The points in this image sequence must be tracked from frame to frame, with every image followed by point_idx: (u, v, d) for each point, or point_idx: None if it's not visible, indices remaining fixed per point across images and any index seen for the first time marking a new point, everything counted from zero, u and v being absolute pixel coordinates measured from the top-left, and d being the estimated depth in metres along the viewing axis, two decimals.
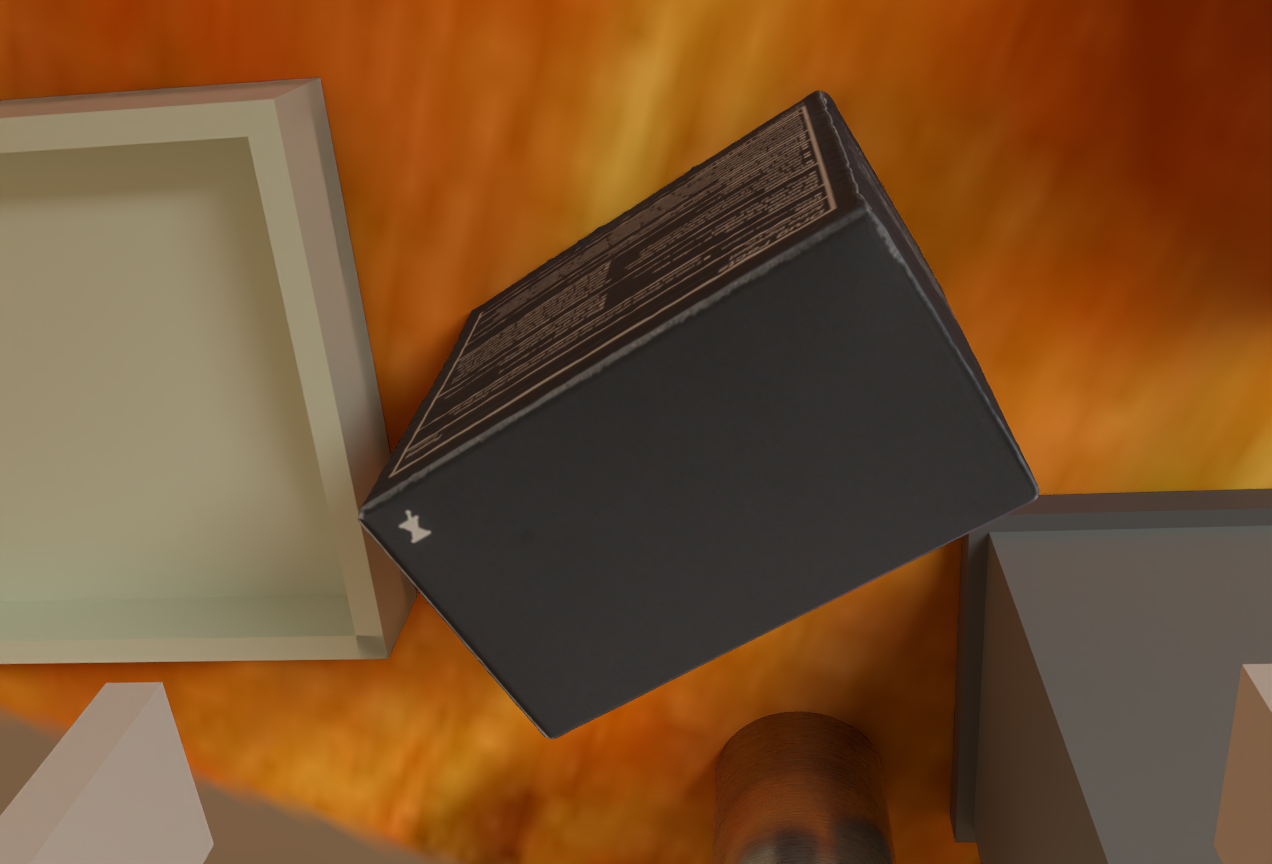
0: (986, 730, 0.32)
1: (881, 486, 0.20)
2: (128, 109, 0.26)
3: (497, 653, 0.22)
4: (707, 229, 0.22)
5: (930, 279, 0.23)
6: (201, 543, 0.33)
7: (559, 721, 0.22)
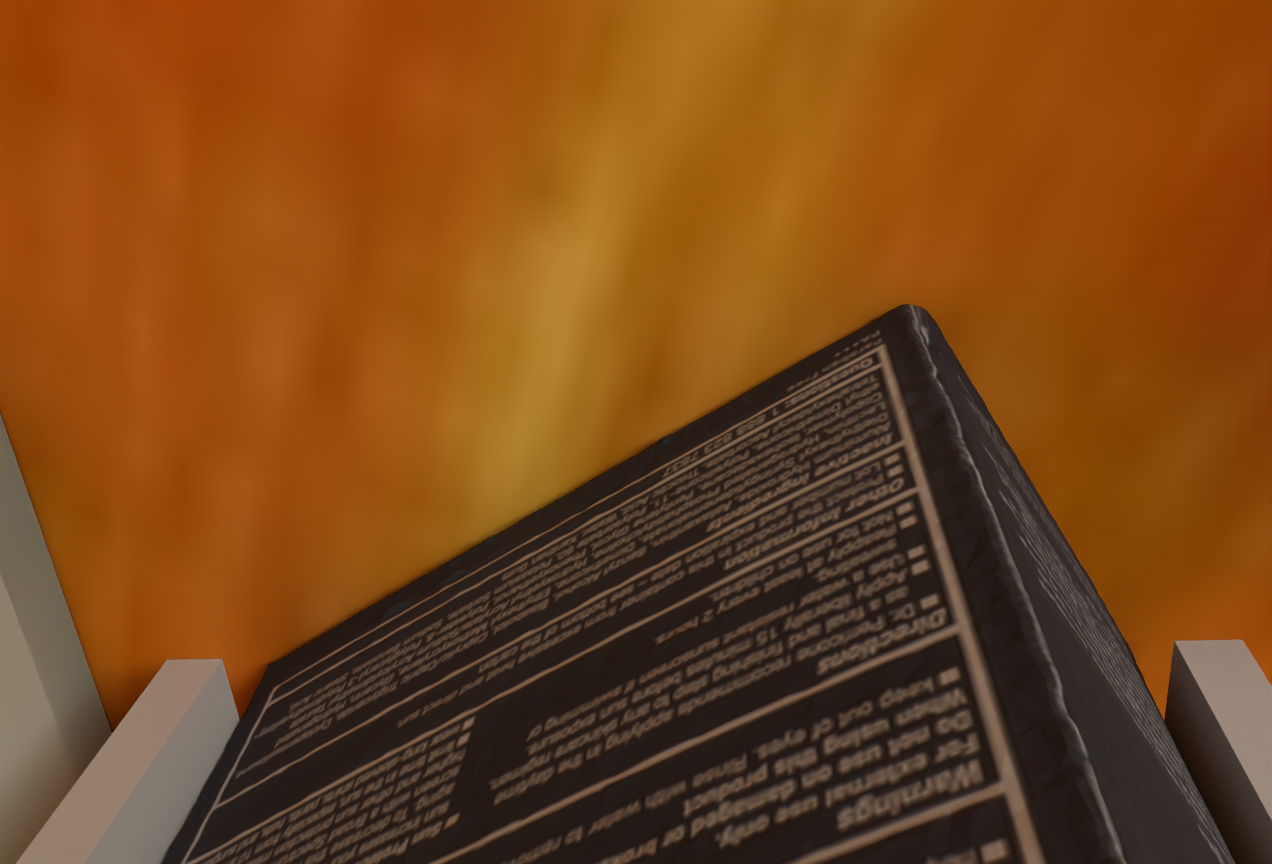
0: None
1: None
2: None
3: None
4: (675, 770, 0.09)
5: (1195, 811, 0.10)
6: None
7: None
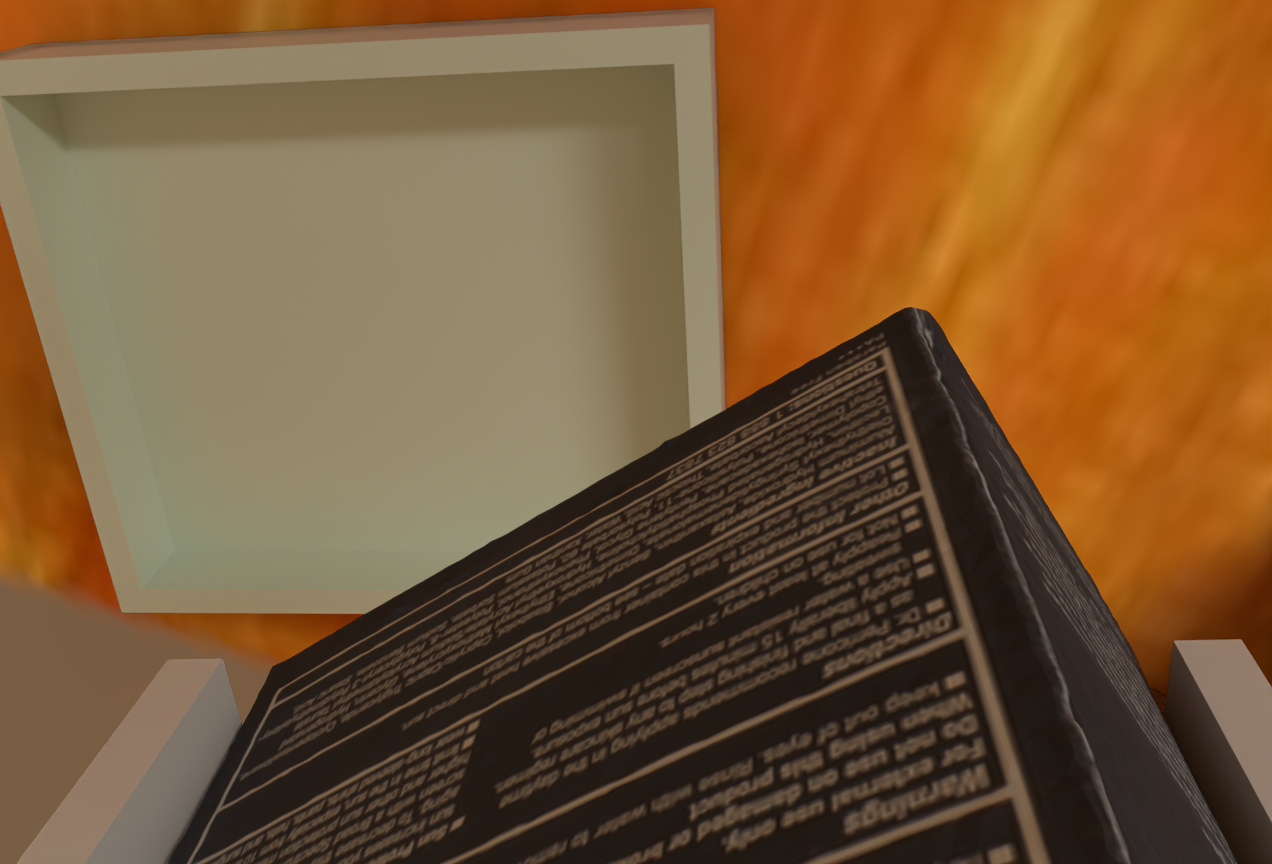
0: None
1: None
2: (550, 32, 0.24)
3: None
4: (681, 773, 0.09)
5: (1199, 814, 0.10)
6: (522, 493, 0.32)
7: None
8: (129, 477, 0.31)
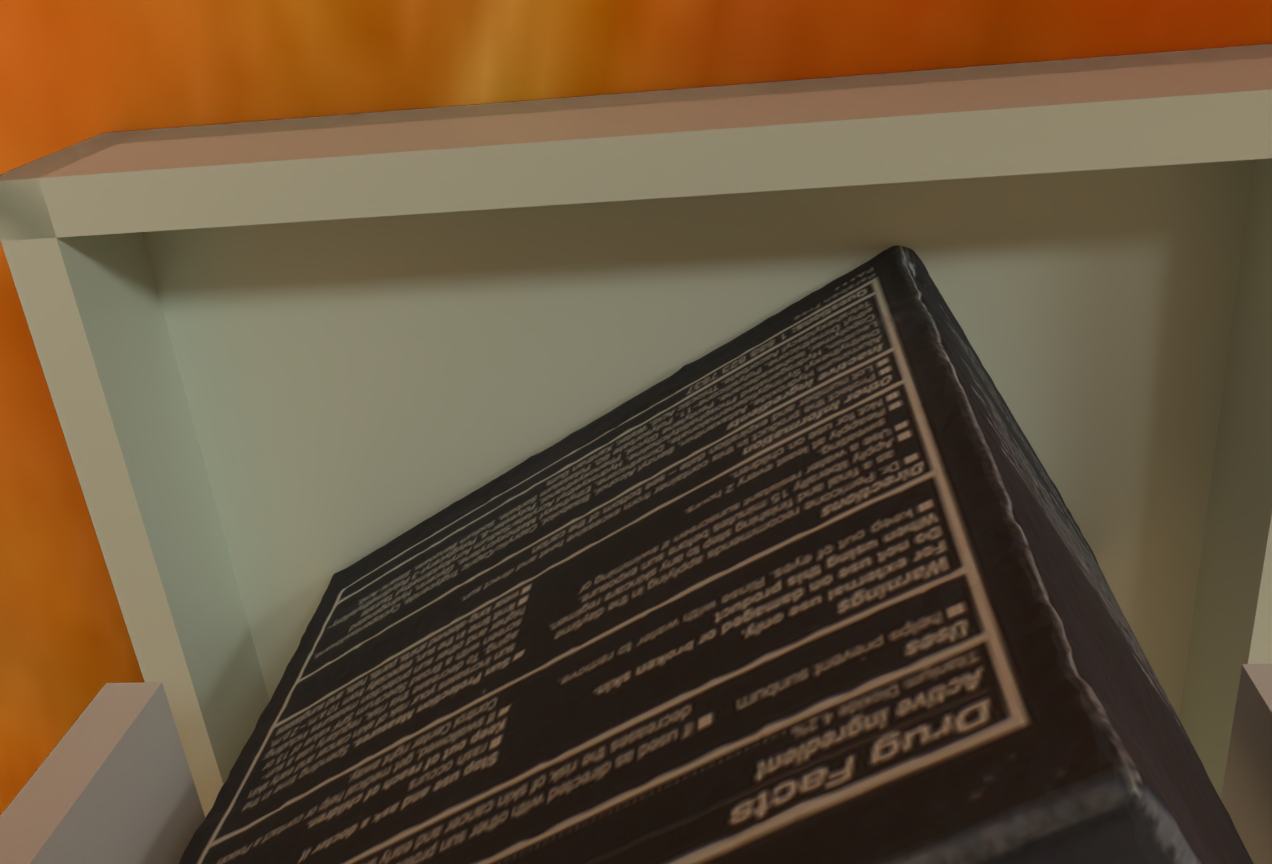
0: None
1: None
2: (1092, 102, 0.13)
3: None
4: (706, 594, 0.11)
5: (1132, 647, 0.12)
6: None
7: None
8: None
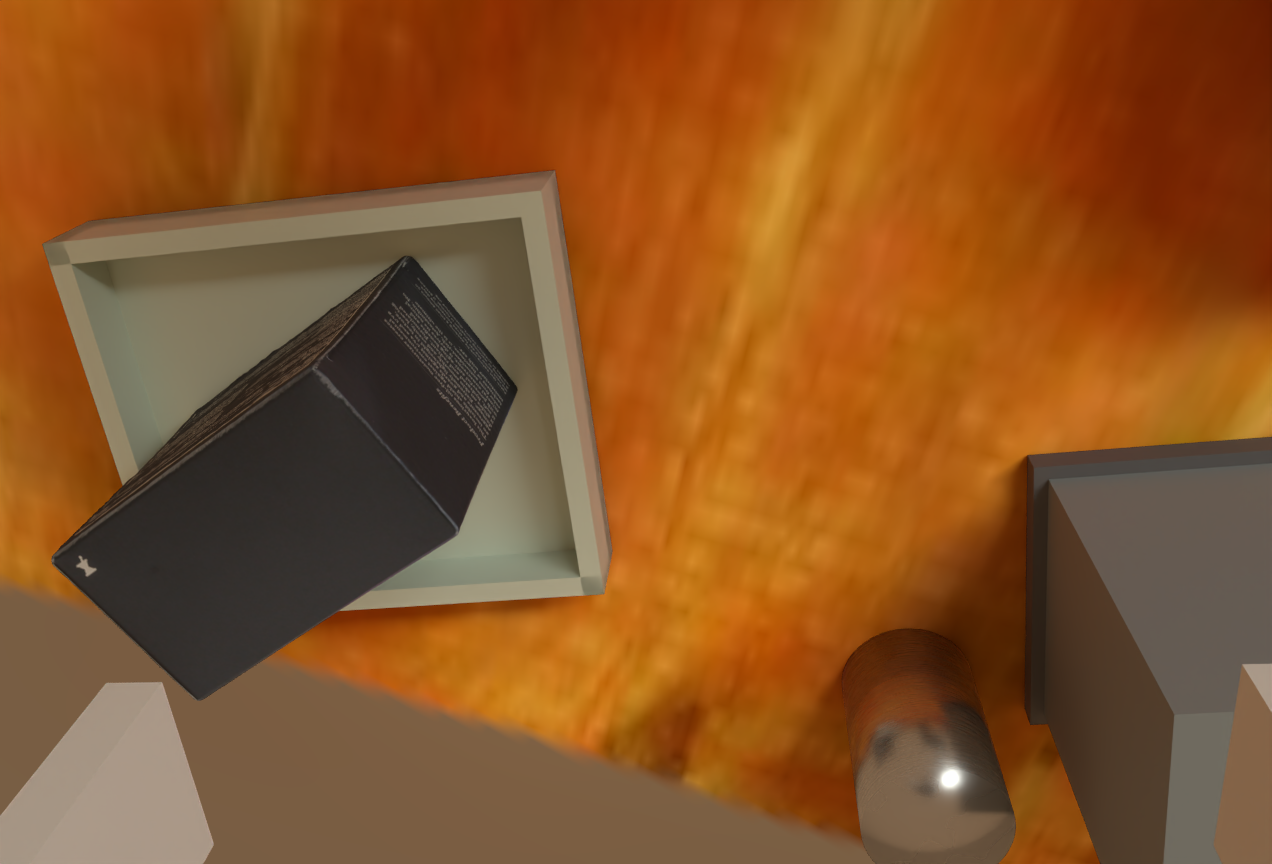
0: (1052, 630, 0.42)
1: (360, 530, 0.32)
2: (437, 201, 0.37)
3: (152, 645, 0.34)
4: (282, 367, 0.34)
5: (445, 389, 0.36)
6: None
7: (200, 688, 0.35)
8: None
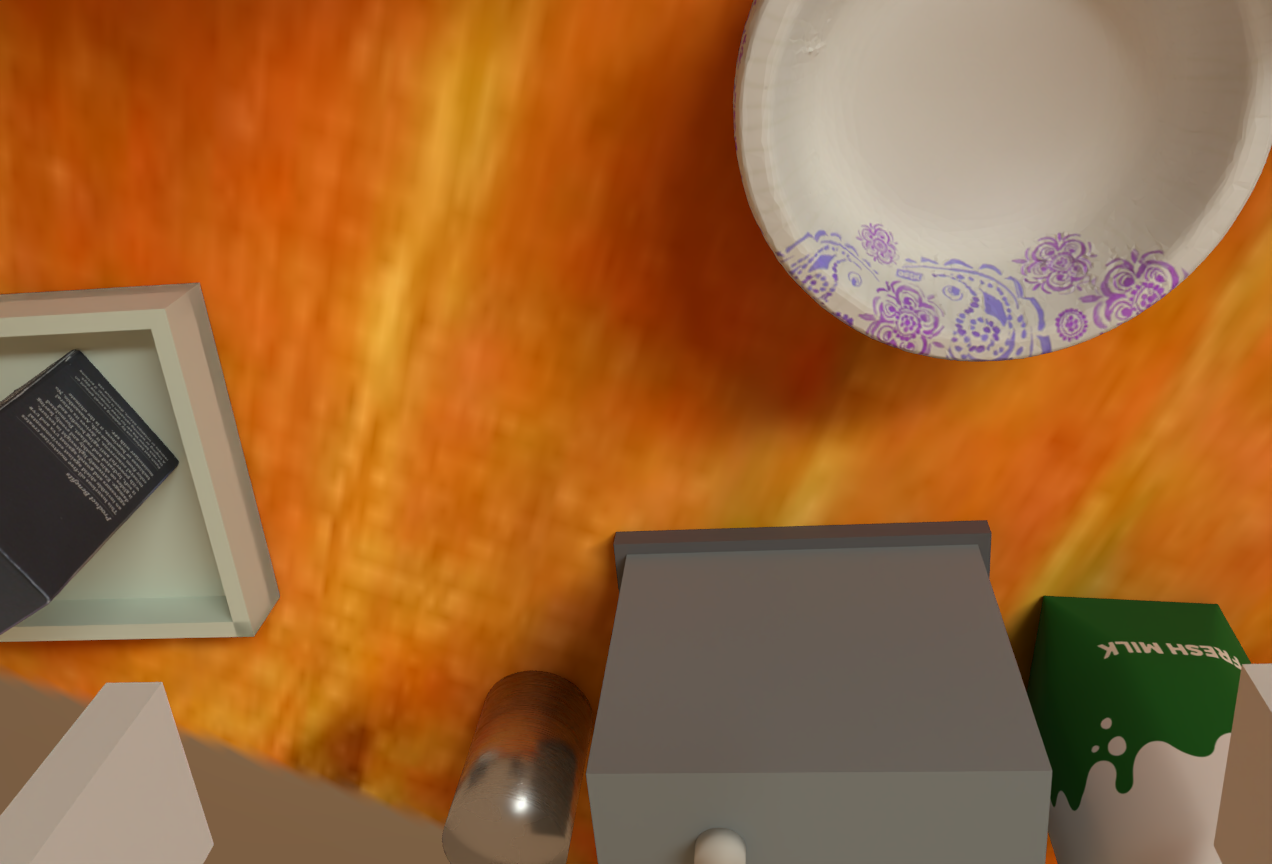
0: None
1: None
2: (81, 313, 0.44)
3: None
4: None
5: (77, 473, 0.43)
6: (137, 563, 0.51)
7: None
8: None
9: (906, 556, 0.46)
